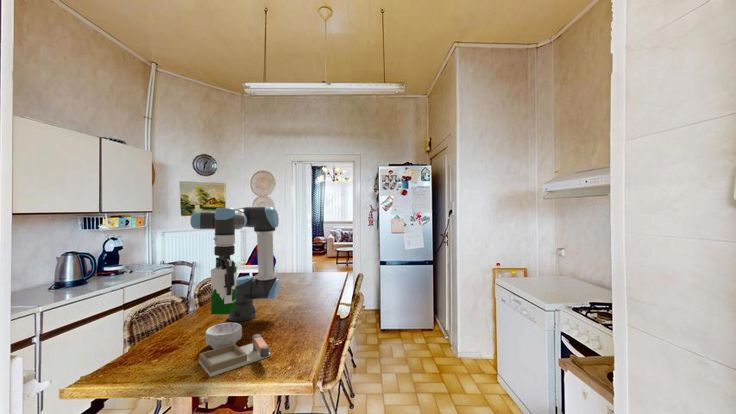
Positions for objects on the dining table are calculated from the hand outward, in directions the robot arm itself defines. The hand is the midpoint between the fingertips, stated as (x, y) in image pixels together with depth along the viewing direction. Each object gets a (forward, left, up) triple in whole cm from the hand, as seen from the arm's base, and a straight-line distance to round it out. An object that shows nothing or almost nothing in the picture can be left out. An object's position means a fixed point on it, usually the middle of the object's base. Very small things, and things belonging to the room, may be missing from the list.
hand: (223, 300), depth 124 cm
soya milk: (0, 0, -5) cm, 5 cm away
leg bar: (+7, +13, -21) cm, 26 cm away
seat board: (0, +5, -25) cm, 26 cm away
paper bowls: (-17, +6, -26) cm, 31 cm away
